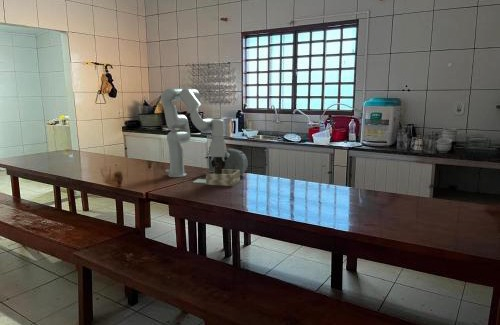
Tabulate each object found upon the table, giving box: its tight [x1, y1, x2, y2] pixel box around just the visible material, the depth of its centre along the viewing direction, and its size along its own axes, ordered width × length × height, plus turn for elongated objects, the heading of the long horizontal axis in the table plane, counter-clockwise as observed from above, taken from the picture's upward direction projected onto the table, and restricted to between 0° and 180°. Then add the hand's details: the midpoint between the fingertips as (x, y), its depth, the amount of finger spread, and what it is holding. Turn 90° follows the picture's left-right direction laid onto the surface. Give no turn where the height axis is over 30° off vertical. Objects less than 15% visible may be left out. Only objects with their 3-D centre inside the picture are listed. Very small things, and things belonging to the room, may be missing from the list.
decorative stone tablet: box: [207, 146, 249, 176], centre depth 252 cm, size 19×6×30 cm
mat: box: [192, 178, 206, 184], centre depth 235 cm, size 9×9×1 cm
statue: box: [213, 157, 223, 174], centre depth 230 cm, size 7×7×20 cm
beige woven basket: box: [205, 169, 241, 187], centre depth 231 cm, size 18×15×7 cm
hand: (218, 166), depth 231 cm, fingers closed on statue, 6 cm apart
